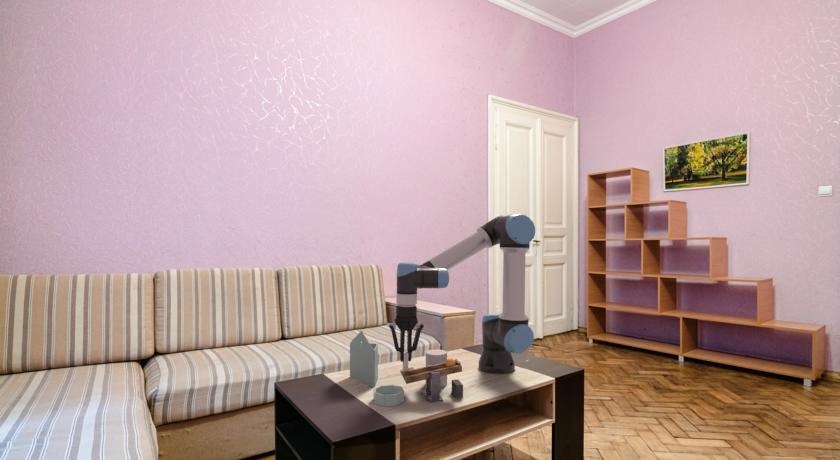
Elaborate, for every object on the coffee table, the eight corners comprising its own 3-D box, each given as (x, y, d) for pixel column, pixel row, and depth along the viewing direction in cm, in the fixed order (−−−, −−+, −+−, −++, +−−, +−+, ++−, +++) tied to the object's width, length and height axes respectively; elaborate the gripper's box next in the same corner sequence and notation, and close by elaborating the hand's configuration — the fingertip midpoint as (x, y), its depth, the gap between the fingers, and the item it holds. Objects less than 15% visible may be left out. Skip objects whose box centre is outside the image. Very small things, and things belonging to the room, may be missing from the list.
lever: (451, 360, 167) (450, 353, 167) (462, 371, 154) (461, 363, 154) (400, 372, 163) (399, 364, 163) (406, 383, 150) (405, 375, 150)
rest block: (458, 391, 160) (458, 379, 160) (463, 397, 154) (463, 384, 154) (451, 391, 159) (451, 379, 159) (456, 397, 153) (456, 385, 153)
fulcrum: (436, 390, 160) (435, 364, 160) (443, 401, 150) (443, 373, 150) (422, 391, 159) (422, 365, 159) (428, 402, 149) (428, 374, 149)
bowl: (400, 393, 157) (400, 384, 157) (405, 404, 148) (405, 393, 148) (372, 396, 155) (372, 386, 155) (375, 406, 146) (375, 396, 146)
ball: (455, 364, 158) (451, 355, 158) (458, 366, 155) (454, 358, 155) (447, 368, 158) (443, 359, 157) (449, 371, 154) (445, 362, 154)
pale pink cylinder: (445, 388, 163) (445, 355, 163) (423, 386, 165) (423, 354, 165) (448, 381, 171) (448, 350, 171) (427, 379, 173) (427, 349, 173)
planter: (390, 382, 170) (390, 331, 170) (373, 387, 164) (373, 334, 165) (365, 372, 182) (365, 324, 182) (349, 377, 177) (349, 327, 177)
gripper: (422, 303, 166) (420, 366, 165) (387, 303, 163) (386, 367, 163) (426, 306, 159) (425, 372, 158) (390, 306, 156) (388, 374, 155)
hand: (405, 370), depth 160 cm, fingers closed
